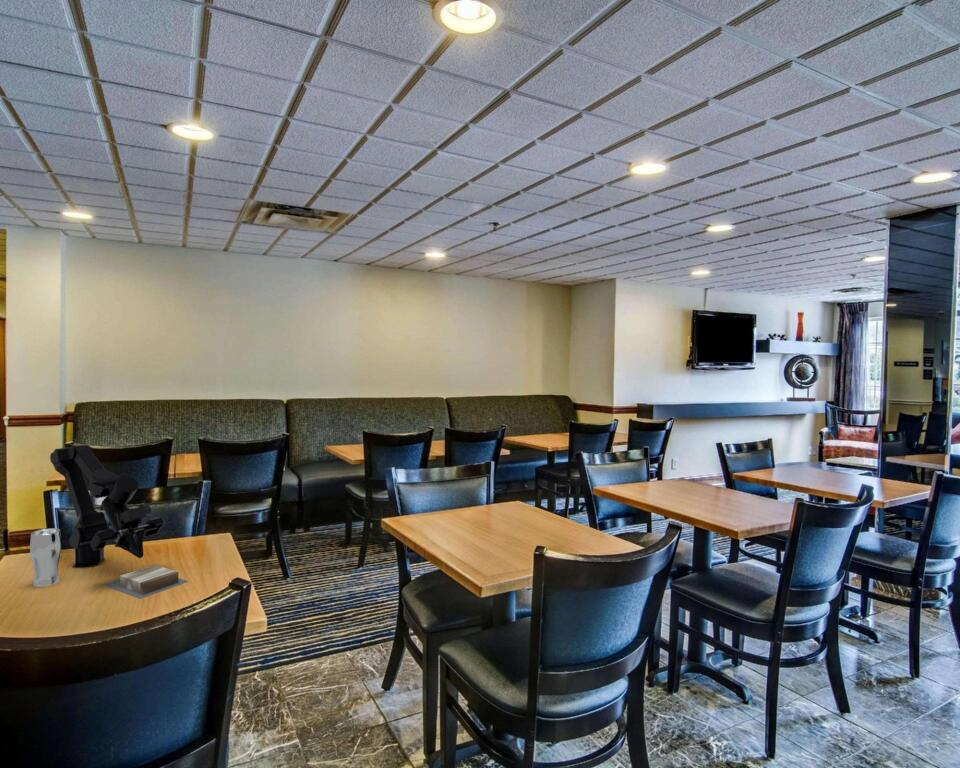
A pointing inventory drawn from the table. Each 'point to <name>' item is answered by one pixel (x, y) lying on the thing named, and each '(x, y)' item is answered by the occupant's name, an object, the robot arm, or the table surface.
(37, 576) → the beer glass
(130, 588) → the grey-brown flat block
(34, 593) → the table surface
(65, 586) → the table surface
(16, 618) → the table surface
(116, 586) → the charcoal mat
